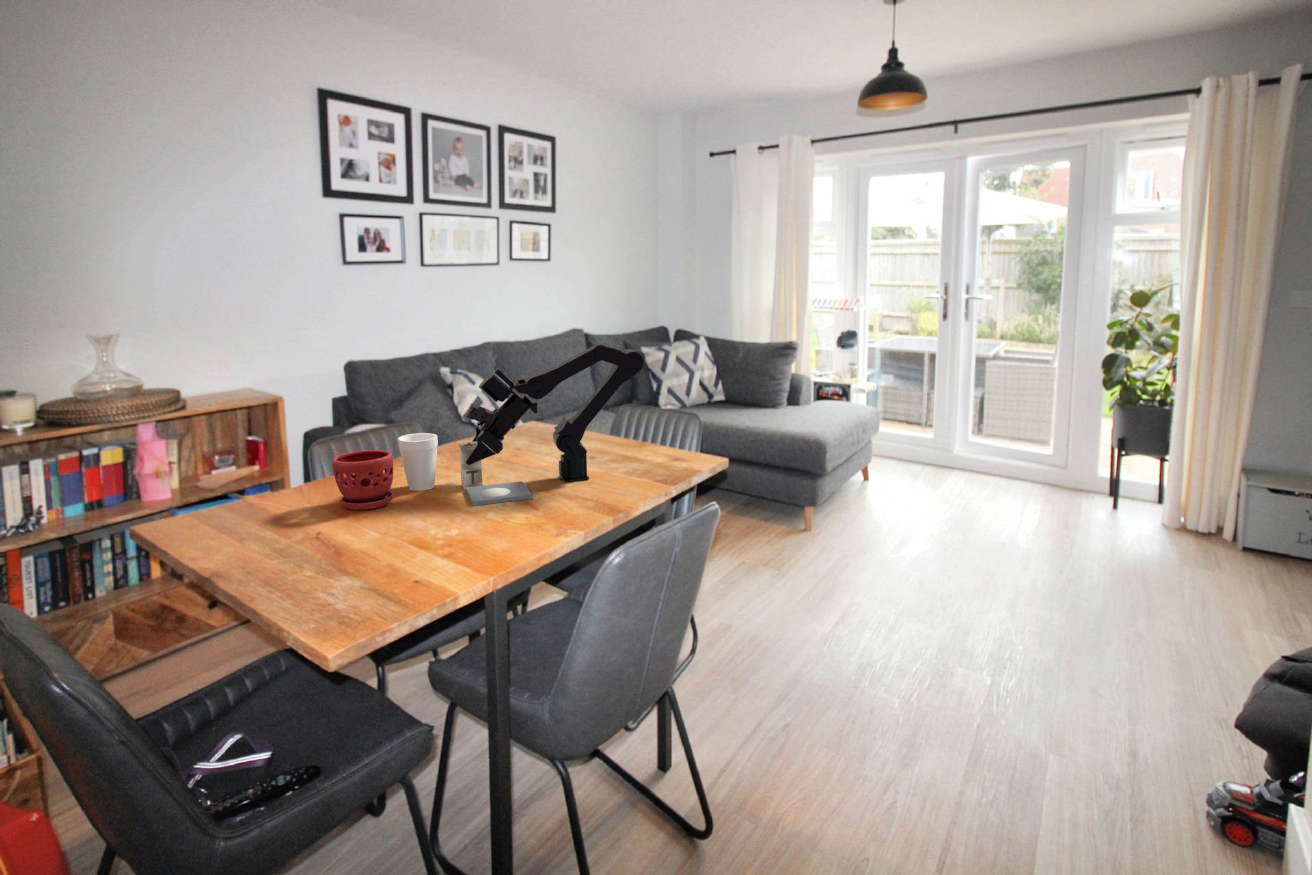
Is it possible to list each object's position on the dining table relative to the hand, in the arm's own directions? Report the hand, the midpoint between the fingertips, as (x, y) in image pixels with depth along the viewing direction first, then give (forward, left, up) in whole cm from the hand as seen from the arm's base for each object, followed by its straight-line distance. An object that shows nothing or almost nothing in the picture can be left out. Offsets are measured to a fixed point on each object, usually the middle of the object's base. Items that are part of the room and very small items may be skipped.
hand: (466, 459), depth 187 cm
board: (-6, +10, -7) cm, 14 cm away
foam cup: (+11, -4, -7) cm, 14 cm away
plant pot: (+24, +5, -7) cm, 26 cm away
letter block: (-1, 0, -7) cm, 7 cm away
